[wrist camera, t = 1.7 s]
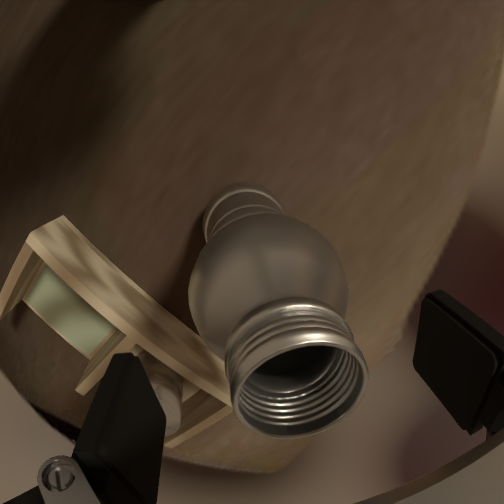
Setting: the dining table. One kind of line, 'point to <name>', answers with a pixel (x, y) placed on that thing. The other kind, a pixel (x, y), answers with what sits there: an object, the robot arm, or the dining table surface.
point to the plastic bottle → (275, 316)
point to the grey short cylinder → (165, 389)
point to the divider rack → (112, 320)
